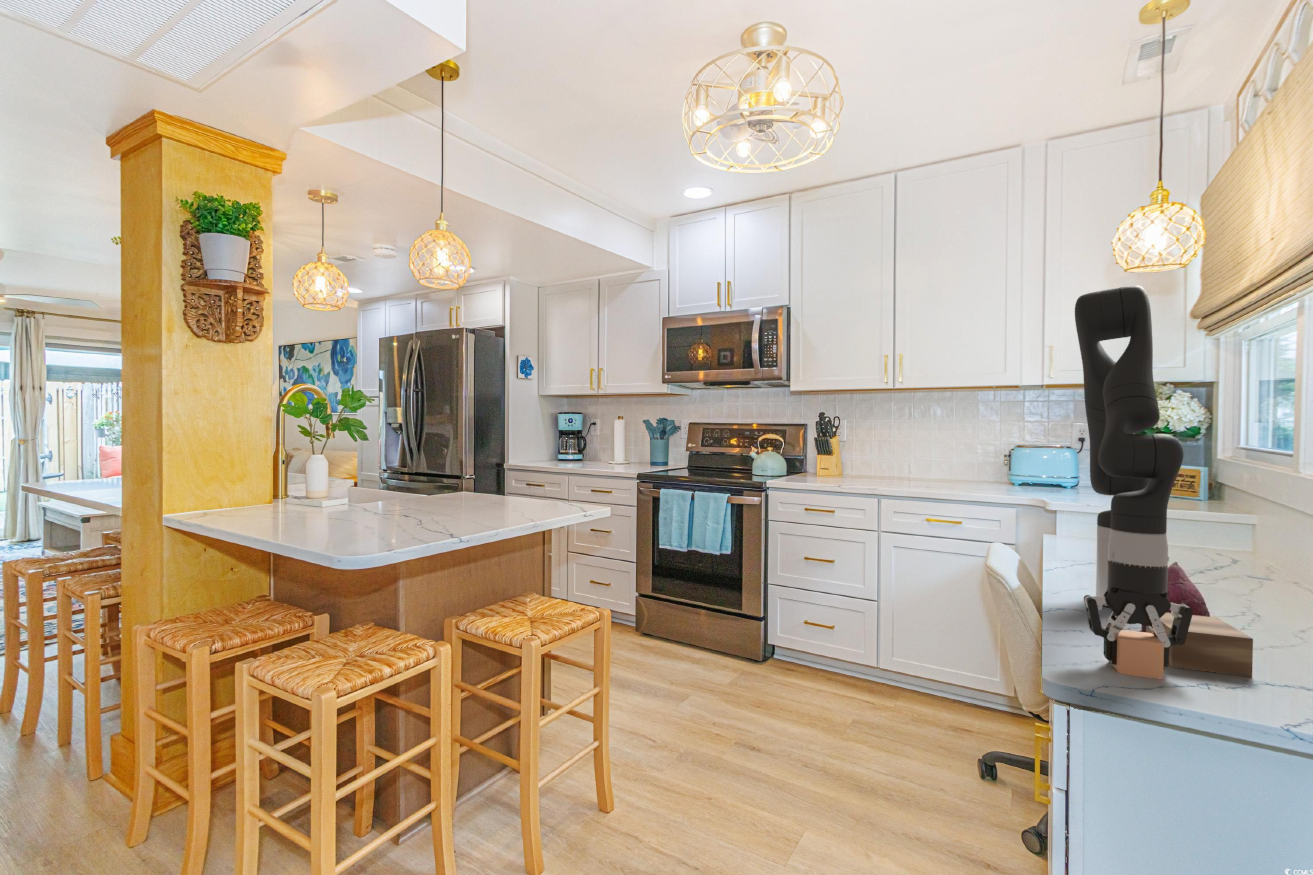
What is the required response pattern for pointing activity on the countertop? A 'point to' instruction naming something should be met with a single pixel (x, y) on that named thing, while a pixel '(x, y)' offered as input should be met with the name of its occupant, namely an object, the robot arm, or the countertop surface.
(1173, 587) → the vegetable
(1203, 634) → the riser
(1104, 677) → the countertop surface
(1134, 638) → the block
